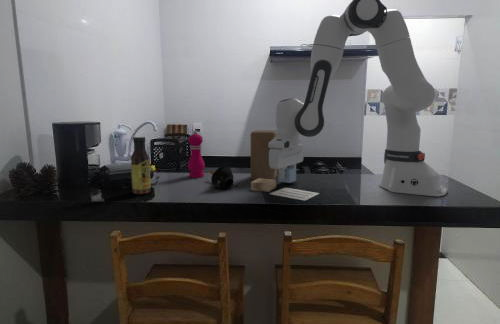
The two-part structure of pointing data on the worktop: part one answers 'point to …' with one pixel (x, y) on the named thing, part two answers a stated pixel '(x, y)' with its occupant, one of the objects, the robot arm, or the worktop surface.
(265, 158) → the block
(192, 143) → the pepper mill
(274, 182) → the oak block
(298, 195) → the recipe card
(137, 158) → the sauce bottle
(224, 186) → the black rounded dome
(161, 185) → the worktop surface
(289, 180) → the blue cube
